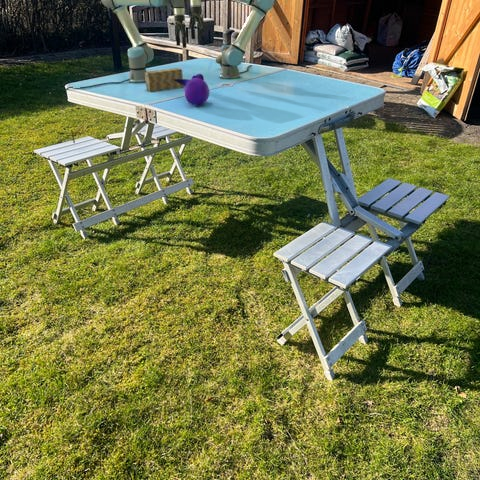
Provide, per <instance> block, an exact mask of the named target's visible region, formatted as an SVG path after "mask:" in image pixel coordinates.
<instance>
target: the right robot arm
mask: <svg viewBox="0 0 480 480" xmlns="http://www.w3.org/2000/svg"><path fill="white" fill-rule="evenodd" d="M232 1H233V2H238V3H243V4H246V5H247V6H250V7H251V11H250V13H249V15H248V16H247V19H246V20H245V22H244V24H243V26H242V28H241V30H240V32H238V35H237V37H236V39H235V40H234V41H233V42H231V44H225V45H221V51H220V52H221V56H222V67H221V69H220V74H219V77H220V79H223V80H224V79H225V80H235V79H239V78H241V74H244V73H247V72H248V71H249V67H252V64H251V65H248V66H247V67H246V69H247V70H244V71H239V67H238V66H240V65H241V64H242V63H243V61H244V56H245V54H246V52H247V51H246V48H247V46H248V44H249V42H250V40H251V39H252V37H253V35H254V33H255V32H256V29H257V28H258V26H259V24H260V23H261V21H262V18H263V17H266V16H267V14H268V12H269V11H270V10H271V9H273V6H274V5H275V0H232ZM189 6H190V7H189V9H190V13H189V17H190V18H189V23H188V28H189V29H190V35H191V36H190V38H191V40H196V28H195V27H196V24H197V25H198V28H199V39H200V40H199V41H200V42H204V41H205V30H206V29H207V28H206V24H205V21H204V15H203V14H202V13H203V11H202V0H189Z"/></svg>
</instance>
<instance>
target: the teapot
mask: <svg viewBox="0 0 480 480" xmlns="http://www.w3.org/2000/svg"><path fill="white" fill-rule="evenodd" d="M215 64H218V65H219V66H220V67H221V68H222V55H218V56H217V57H216V58H215Z"/></svg>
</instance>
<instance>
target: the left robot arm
mask: <svg viewBox="0 0 480 480" xmlns="http://www.w3.org/2000/svg"><path fill="white" fill-rule="evenodd" d="M100 1H101V3H102V5H103V6H104V7H106V8H108V9H111V11H112V13H114V14H116V16H117V18H118V20H119V22H120V23H121V25H122V27H123V29H124V31H125V33H126V35H127V37H128V39H129V42H130V43H131V45H132V47H129V48H128V49H127V56H128V66H129V76H128V79H125V80H121V81H113V82H112V81H110V82H103V83H102V82H101V83H96V84H93V85H87V86H86V85H85V86H79V87H80V88H73V87H74V86H68V87H66V88H65V91H69V89H74V90H78V89H81V90H82V89H87V88H93V87H98V86H102V85H103V86H104V85H110V84H111V85H112V84H122V83H125V82H129V83H133V84H141V83H146V80H145V72H148V71H147V67H146V64H149V63H151V62H152V61H153V59H154V56H155V55H154V50H153V48H152V47H151V46H149V45H148V43H147V41H145V40H143V37H142V35H141V34H140V32H139V30H138V28H137V25H136V24H135V22H134V20H133V18H132V16H131V14H130V12H129V10H128V7H129V6H130V7H131V6H132V7H133V6H134V7H135V6H136V7H156V8H158V7H164V6H173V15H174V16H173V18H174V21H175V22H174V35H175V42H176V43H175V45H176V46H177V47H178V46H181V45H182V48H183V49H186V48H187V38H188V33H187V29H186V24H185V21H186V16H185V11H186V8H185V0H100ZM73 131H74V130H73V129H71V130H70V132H71V137H72V141H73V144H76V141H75V136H74V132H73Z"/></svg>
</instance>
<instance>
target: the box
mask: <svg viewBox="0 0 480 480" xmlns="http://www.w3.org/2000/svg"><path fill="white" fill-rule="evenodd" d="M174 79H184V77H183V69H182V68H179V67H175V68H168V69H167V68H166V69H158V70H150V71H147V72H145V80H146V82H145V87H146V91H148V92H150V93H153V92H159V91H166V90H167V91H168V90H174V89H181V88H184V85H182V84H180V83H178V82H176V81H174Z"/></svg>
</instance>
